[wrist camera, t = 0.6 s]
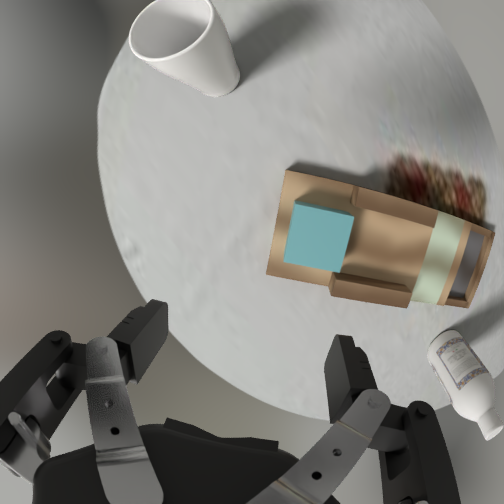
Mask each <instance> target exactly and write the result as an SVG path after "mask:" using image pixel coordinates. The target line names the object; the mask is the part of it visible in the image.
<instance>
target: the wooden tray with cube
mask: <svg viewBox="0 0 504 504" xmlns="http://www.w3.org/2000/svg"><path fill="white" fill-rule="evenodd" d="M294 200H296V201H301V202H306V203H311V204H315V205H320V206H324V207H329V208H333V209H338V210H342V211H346V212H349V213H350V214H351V215H353V216H354V220H353V225H352V229H351V233H350V237H349V240H348V244H347V248H346V252H345V255H344V259H343V263H342V266H341V270H340V273H338V272H333V271H327V270H322V269H317V268H312V267H307V266H302V265H296V264H291V263H286V262H284V250H285V245H286V240H287V235H288V230H289V225H290V220H291V215H292V210H293V205H294ZM494 236H495V232H493V231H490V230H488V229H486V228H483V227H481V226H478V225H476V224H473V223H471V222H468V221H466V220H463V219H461V218H458V217H455V216H453V215H450V214H447V213H444V212H442V211H439V210H436V209H433V208H430V207H427V206H424V205H421V204H418V203H415V202H412V201H409V200H405V199H402V198H399V197H395V196H392V195H389V194H385V193H382V192H378V191H375V190H371V189H367V188H363V187H360V186H356V185H352V184H348V183H344V182H340V181H335V180H331V179H327V178H322V177H318V176H313V175H309V174H304V173H299V172H294V171H289V170H286V171H285V176H284V182H283V187H282V193H281V198H280V203H279V209H278V214H277V219H276V225H275V230H274V235H273V240H272V246H271V251H270V256H269V261H268V266H267V271H266V275H271V276H276V277H281V278H286V279H292V280H297V281H302V282H307V283H313V284H318V285H324V286H328V287H329V290H330V294H331V296H334V297H340V298H346V299H352V300H358V301H364V302H370V303H376V304H382V305H388V306H395V307H401V308H407V307H408V304H409V302H410V300H411V301H417V302H423V303H429V304H436V305H442V306H444V305H450V306H456V307H463V308H469V306H470V304H471V302H472V299H473V297H474V295H475V292H476V290H477V287H478V285H479V282H480V279H481V277H482V274H483V271H484V268H485V265H486V262H487V259H488V256H489V253H490V250H491V246H492V243H493V239H494Z"/></svg>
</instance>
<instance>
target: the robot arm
mask: <svg viewBox="0 0 504 504" xmlns="http://www.w3.org/2000/svg"><path fill="white" fill-rule="evenodd" d="M167 335H168V304H167V303H166V302H162V301H158V300H154V299H152V300H150V301H149V303H148V304H147V305H146V306H145V307H141V306H140V307H138V308H136V309H134V310H132V311H131V312H130V313H129V314H128V315H127V316H126V317H125V318H124V319H123V320H122V322H120V323H119V324H118V325H117V327H115V328H114V330H113V331H112V332H111V333H110V334H109V335H108V336H107V337H97V338H94V339H92V340H90V341H89V342H88V343H87V344H80V343H74V342H72V341H71V337H70V335H69V334H68V333H66V332H64V331H60V330H58V331H52V332H50V333H48V334H47V335H46V336H45V337H43V339H41V341H39V343H37V344H36V345H35V346H34V347H33V348H32V349H31V350H30V351H29V352H28V353H27V354H26V355H25V356H24V357H23V359H21V360H20V361H19V362H18V363H17V365H15V367H14V368H13V369H12V370H11V371H10V372H9V373H8V374H7V375H6V376H5V377H4V378H3V379H2V381H1V382H0V464H1V465H3V466H4V467H6V468H7V469H8V470H9V471H10V472H11V473H12V474H14V475H15V476H18V477H22V478H23V479H25V480H26V481H27V482H29V483H30V484H32V485H33V502H32V504H340V503H339V502H338V501H337V500H336V499H335V498H334V496H333V495H332V493H333V492H334V491H335V490H336V488H337V487H338V486H339V485H340V483H341V482H342V481H343V480H344V478H345V477H346V476H347V475H348V473H349V472H350V471H351V469H352V468H353V467H354V465H355V464H356V463H357V461H358V460H359V459H360V457H361V456H362V454H363V453H364V451H365V450H366V448H371V449H376V450H378V452H379V460H380V468H381V479H382V489H383V503H384V504H461V501H460V497H459V492H458V487H457V483H456V479H455V475H454V471H453V467H452V464H451V460H450V457H449V453H448V450H447V447H446V443H445V440H444V437H443V434H442V431H441V428H440V425H439V422H438V420H437V417H436V414H435V411H434V409H433V408H432V407H431V406H430V405H429V404H428V403H426V402H423V401H414V402H412V403H410V405H409V406H408V407H407V408H405V407H401V406H397V405H393V404H391V402H390V399H389V398H388V396H387V395H386V394H385V393H383V392H382V391H379V390H378V388H377V385H376V382H375V379H374V376H373V373H372V370H371V367H370V364H369V361H368V358H367V355H366V353H365V352H364V351H363V350H362V349H361V348H360V347H355V344H354V341H353V338H352V336H346V335H338V334H337V335H335V337H334V339H333V342H332V345H331V348H330V350H329V353H328V355H327V358H326V361H325V366H324V373H325V381H326V389H327V397H328V406H329V416H330V423H331V424H333V426H332V427H331V428H330V429H329V430H328V431H327V433H326V434H324V436H323V437H322V438H321V439H320V440H319V441H318V442H317V443H316V444H315V445H314V446H313V447H312V448H311V449H310V450H309V451H308V452H307V453H306V454H305V455H304V456H303V457H302V458H301V459H300V460H299V459H298V458H296V457H295V456H293V455H292V454H290V453H288V452H286V451H283V450H281V449H278V441H273V440H265V439H258V438H252V437H247V438H221V437H217V436H215V435H213V434H211V433H209V432H206V431H204V430H202V429H200V428H198V427H196V426H194V425H191V424H187V423H184V422H180V421H177V420H173V419H170V418H167V419H166V421H165V423H164V424H148V425H142V426H139V427H138V426H137V423H136V420H135V417H134V414H133V410H132V406H131V403H130V399H129V396H128V392H127V388H126V385H127V383H128V382H132V383H134V384H138V382H139V381H140V379H141V378H142V376H143V375H144V373H145V372H146V370H147V368H148V367H149V365H150V364H151V362H152V361H153V359H154V358H155V356H156V354H157V353H158V351H159V350H160V348H161V347H162V345H163V344H164V342H165V340H166V338H167ZM54 374H55V375H56V376H55V377H54V378H53V379H52V381H51V382H50V383H49V385H48V386H47V387H46V385H47V383H48V381H49V380H50V378H51V377H52V376H53V375H54ZM82 390H86V394H87V403H88V411H89V417H90V424H91V429H92V435H93V439H94V444H92V445H89V446H86V447H83V448H81V449H78V450H75V451H72V452H68V453H65V454H62V455H58V456H55V457H52V458H50V452H51V444H50V442H49V440H50V438H51V436H52V435H53V433H54V432H55V430H56V429H57V427H58V426H59V424H60V422H61V421H62V419H63V418H64V416H65V415H66V413H67V412H68V410H69V409H70V407H71V406H72V404H73V403H74V401H75V399H76V398H77V397H78V395H79V394H80V393H81V391H82Z"/></svg>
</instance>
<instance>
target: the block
mask: <svg viewBox="0 0 504 504" xmlns="http://www.w3.org/2000/svg"><path fill="white" fill-rule="evenodd" d="M353 220H354V216H353V215H351V214H350V213H349V212H346V211H342V210H338V209H333V208H329V207H324V206H320V205H315V204H311V203H306V202H301V201H296V200H294V205H293V210H292V215H291V220H290V225H289V230H288V235H287V240H286V245H285V250H284V262H286V263H291V264H296V265H302V266H307V267H312V268H317V269H322V270H327V271H333V272H338V273H340V270H341V266H342V263H343V259H344V255H345V252H346V248H347V244H348V240H349V237H350V233H351V229H352V225H353Z"/></svg>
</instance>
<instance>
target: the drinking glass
mask: <svg viewBox="0 0 504 504" xmlns="http://www.w3.org/2000/svg"><path fill="white" fill-rule="evenodd" d="M129 45H130V48H131V50H132V52H133V53H134V54H135V55H136V56H137V57H138V58H140V59H141V60H143V61H144V62H145V63H147V64H148V65H150V66H151V67H153V68H154V69H156V70H157V71H159V72H161V73H163V74H165V75H167V76H169V77H171V78H173V79H175V80H178V81H180V82H182V83H184V84H186V85H188V86H191V87H193V88H195V89H196V90H198V91H200V92H201V93H202V94H204V95H206V96H209V97H221V96H224V95H226V94H228V93H230V92H231V91H232V90H234V88H235V87H236V86H237V84H238V82H239V79H240V71H239V68H238V66H237V64H236V61H235V57H234V54H233V50H232V46H231V42H230V39H229V35H228V32H227V29H226V27H225V24H224V22H223V20H222V18H221V16H220V15H219V13H218V11H217V10H216V8H215V7H214V5H213V4H212V2H211V1H210V0H155V1H154V2H153V3H151V4H149V5H148V6H147V7H146V8H145V9H144V10H143V11H142V12H141V13H140V14H139V15H138V16H137V18H136V19H135V21H134V23H133V25H132V27H131V29H130V33H129Z"/></svg>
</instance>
